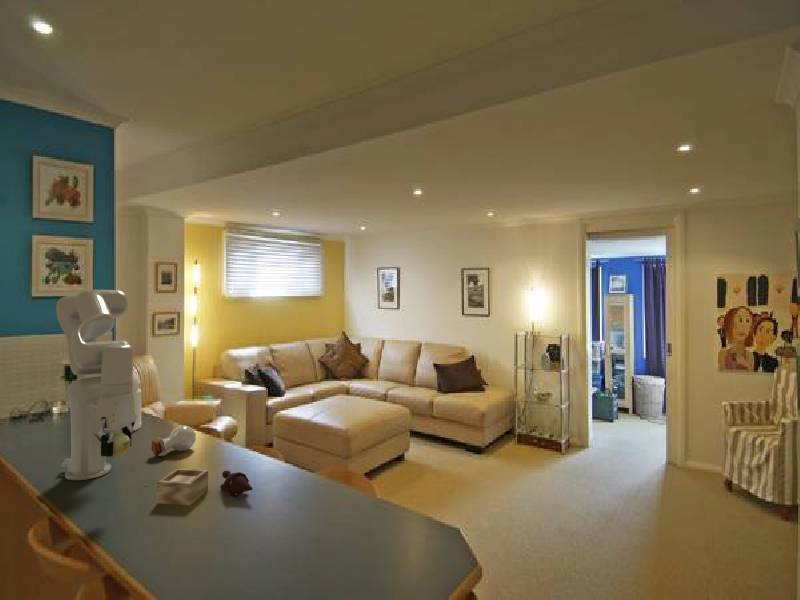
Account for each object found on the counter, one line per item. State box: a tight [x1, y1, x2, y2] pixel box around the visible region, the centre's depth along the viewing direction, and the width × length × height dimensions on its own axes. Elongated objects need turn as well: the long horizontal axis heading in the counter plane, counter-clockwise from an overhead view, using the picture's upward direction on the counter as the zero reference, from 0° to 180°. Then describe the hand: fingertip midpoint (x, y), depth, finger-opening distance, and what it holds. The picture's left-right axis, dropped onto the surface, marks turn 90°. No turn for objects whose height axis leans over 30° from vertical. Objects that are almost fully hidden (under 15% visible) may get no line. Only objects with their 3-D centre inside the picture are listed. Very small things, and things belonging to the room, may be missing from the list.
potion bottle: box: [151, 425, 197, 458], centre depth 172 cm, size 9×10×15 cm
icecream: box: [219, 470, 254, 498], centre depth 138 cm, size 7×7×15 cm
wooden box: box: [156, 468, 209, 506], centre depth 136 cm, size 10×10×6 cm
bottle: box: [107, 370, 142, 434], centre depth 198 cm, size 14×14×28 cm
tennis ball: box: [110, 433, 131, 459], centre depth 129 cm, size 6×7×7 cm
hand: (116, 450), depth 129 cm, fingers closed on tennis ball, 6 cm apart
